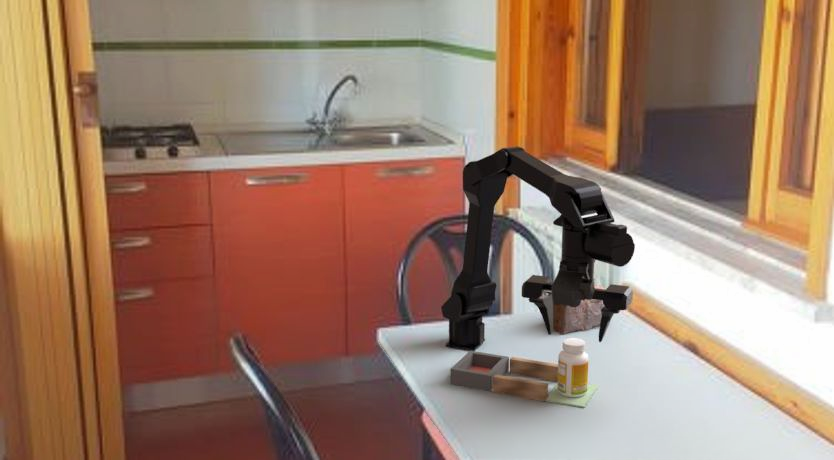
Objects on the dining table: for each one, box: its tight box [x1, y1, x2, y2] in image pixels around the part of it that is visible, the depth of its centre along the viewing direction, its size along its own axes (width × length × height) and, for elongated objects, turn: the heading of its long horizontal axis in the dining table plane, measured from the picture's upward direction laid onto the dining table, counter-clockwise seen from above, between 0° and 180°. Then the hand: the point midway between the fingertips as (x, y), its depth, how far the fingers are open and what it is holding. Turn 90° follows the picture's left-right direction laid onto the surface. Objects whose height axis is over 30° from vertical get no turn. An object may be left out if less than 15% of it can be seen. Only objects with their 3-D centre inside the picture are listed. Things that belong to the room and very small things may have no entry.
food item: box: [552, 284, 606, 335], centre depth 202 cm, size 14×8×10 cm, turn 122°
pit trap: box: [449, 350, 510, 392], centre depth 176 cm, size 8×10×3 cm
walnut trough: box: [492, 356, 558, 402], centre depth 172 cm, size 10×10×3 cm
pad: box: [545, 382, 599, 409], centre depth 169 cm, size 7×10×1 cm
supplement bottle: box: [556, 337, 589, 397], centre depth 168 cm, size 5×5×10 cm
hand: (575, 337), depth 166 cm, fingers open, 9 cm apart
